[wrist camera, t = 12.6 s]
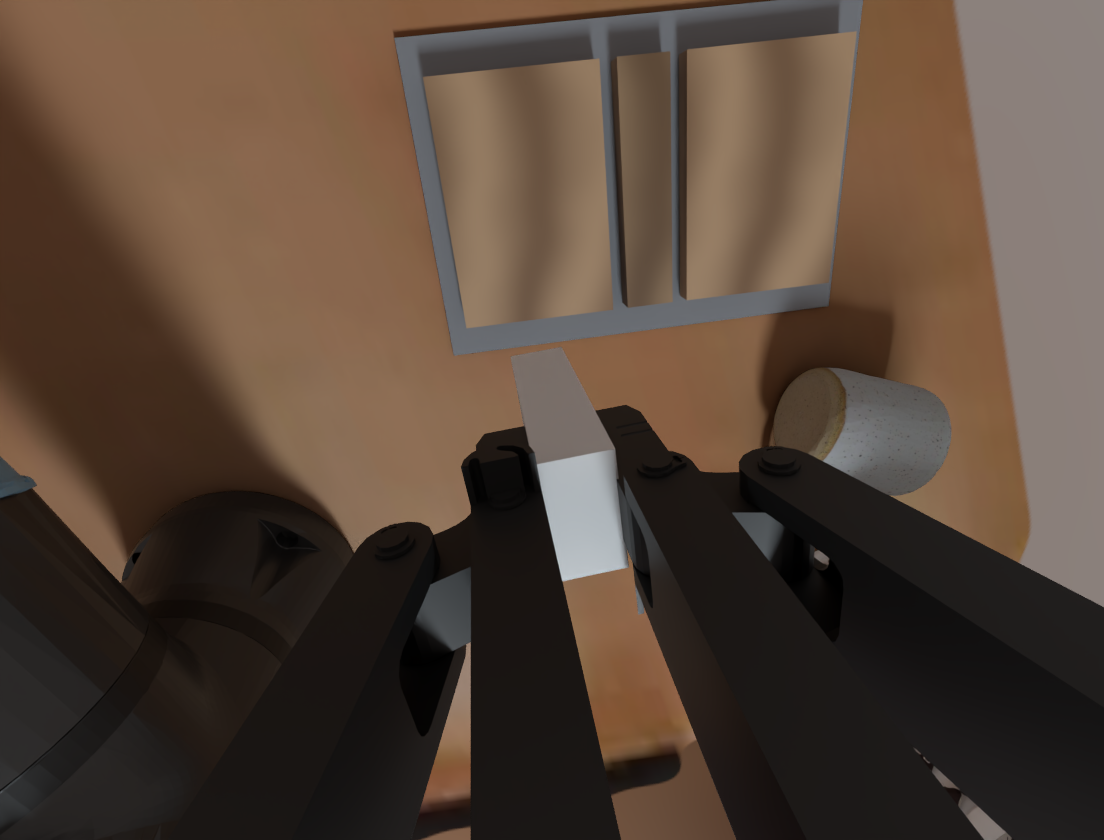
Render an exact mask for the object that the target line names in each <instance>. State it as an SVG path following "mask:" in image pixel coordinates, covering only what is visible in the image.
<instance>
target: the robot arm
mask: <svg viewBox="0 0 1104 840" xmlns="http://www.w3.org/2000/svg"><path fill="white" fill-rule="evenodd" d="M511 361H512V367H513V372H514V377H515V382H516V388H517V393H518V398H519V403H520V409H521V414H522V419H523V424H524V426H523V427H517V428H512V429H507V430H502V431H497V432H492V433H487V434H484V435H483V437H482V438H481V439H480V441H479V442H478V443H477V445H476V451H475V452H473V453H471V454H470V455H469V456H468V457H467V458H466V459H464V461H463V463H462V466H461V469H462V473H463V477H464V481H465V485H466V489H467V493H468V497H469V501H470V505H471V514H470V515H469V516H468V517H467V518H466V519H465V520H463V521H462V522H460V523H459V524H457V525H455V526H453V527H451V528H449V529H447V530H445V531H442V532H440V533H438V534H435V535H433V533H432V531H431V530H430V528H429V527H428V526H426V525H424V524H422V523H418V522H404V523H398V524H393V525H389V526H388V527H384V528H382V529H380V530H378V531H377V532H375V533H374V534H372V535H371V536H369V537H368V538H366V539H365V541H364V542H363V543H362V544H361V545H360V546H359V547H358V548H357V550H356V551H355V553H354V555H353V553H352V551H351V549H350V547H349V546H348V544H347V543H346V541H345V540H344V539H343V537H342V536H341V535H340V534H339V533H338V532H337V531H336V530H335V529H334V528H333V527H332V526H331V525H330V524H329V523H328V522H326V521H325V520H324V519H322V518H321V517H320V516H318V515H317V514H315V513H313V512H312V511H310V510H308V509H306V508H304V507H303V506H300V505H298V504H296V503H294V502H291V501H288V500H286V499H282V498H279V497H276V496H272V495H267V494H262V493H255V492H241V491H233V492H220V493H213V494H208V495H204V496H200V497H197V498H194V499H191V500H188V501H186V502H184V503H182V504H180V505H178V506H176V507H175V508H173V509H171V510H170V511H169V512H167V513H166V514H165V515H164V516H162V517H161V518H160V519H159V520H158V521H157V522H156V523H155V524H154V526H153V527H152V528H151V529H150V530H149V531H148V532H147V533H146V534H145V535H144V536H143V537H142V538H141V539H140V541H139V542H138V543H137V545H136V546H135V548H134V549H133V551H132V552H131V554H130V556H129V558H128V561H127V563H126V566H125V569H124V572H123V576H122V582H121V583H120V582H119V581H118V580H117V579H116V578H115V577H114V576H113V575H112V574H111V573H110V572H109V571H108V570H107V569H106V567H105V566H104V565H103V564H102V563H101V562H100V561H99V560H98V559H97V558H96V557H95V556H94V555H93V553H92V552H91V551H90V550H89V549H88V548H87V547H86V546H85V545H84V544H83V543H82V542H81V540H80V539H79V538H78V537H77V536H76V535H75V534H74V533H73V532H72V531H71V530H70V529H69V528H68V526H67V525H66V524H65V523H64V522H63V521H62V520H61V519H60V518H59V517H58V516H57V515H56V513H55V512H54V511H53V510H52V509H51V508H50V507H49V506H48V505H47V504H46V503H45V502H44V501H43V499H42V498H41V497H40V496H39V495H38V494H37V493H36V492H35V491H34V490H33V489H32V488H33V487H36V486H37V485H36V483H35V482H34V480H33V479H32V478H30V477H28V476H22V475H20V474H18V473H17V472H16V471H15V470H14V469H13V468H12V467H11V466H10V465H9V464H8V463H7V462H6V461H5V460H4V459H3V458H2V457H0V840H411V838H412V834H413V831H414V828H415V824H416V821H417V818H418V814H419V811H420V807H421V804H422V801H423V797H424V794H425V791H426V787H427V784H428V780H429V777H430V774H431V770H432V767H433V764H434V760H435V757H436V754H437V750H438V747H439V743H440V740H441V737H442V733H443V730H444V727H445V723H446V720H447V716H448V713H449V710H450V706H451V703H452V700H453V696H454V693H455V689H456V686H457V683H458V679H459V676H460V673H461V669H462V666H463V663H464V659H465V655H466V644H468V643H470V642H471V840H621V837H620V834H619V829H618V824H617V820H616V815H615V811H614V807H613V802H612V798H611V793H610V789H609V785H608V780H607V776H606V771H605V767H604V763H603V758H602V754H601V749H600V745H599V741H598V736H597V732H596V727H595V723H594V719H593V714H592V710H591V705H590V701H589V697H588V692H587V688H586V683H585V679H584V675H583V670H582V666H581V661H580V657H579V653H578V648H577V644H576V639H575V635H574V631H573V626H572V622H571V617H570V613H569V609H568V604H567V600H566V595H565V591H564V587H563V582H562V581H566V580H571V579H575V578H580V577H585V576H589V575H594V574H599V573H604V572H608V571H613V570H618V569H622V568H627V567H629V564H628V556H627V550H628V552H629V555H630V557H631V560H632V562H633V569H634V578H635V587H636V596H637V605H638V614H642V613H644V608H645V610H646V613H647V615H648V618H649V620H650V623H651V625H652V628H653V631H654V633H655V636H656V638H657V641H658V643H659V646H660V648H661V651H662V653H663V656H664V658H665V661H666V663H667V666H668V668H669V671H670V673H671V676H672V678H673V681H674V683H675V686H676V688H677V691H678V694H679V696H680V699H681V701H682V704H683V706H684V709H685V711H686V714H687V716H688V719H689V721H690V724H691V726H692V729H693V731H694V734H695V736H696V739H697V741H698V744H699V746H700V749H701V751H702V754H703V756H704V759H705V762H706V764H707V766H708V769H709V771H710V774H711V777H712V779H713V782H714V784H715V787H716V789H717V792H718V794H719V797H720V799H721V802H722V804H723V807H724V809H725V812H726V814H727V817H728V819H729V822H730V825H731V827H732V830H733V832H734V835H735V837H736V840H984V839H983V837H982V836H981V835H980V833H979V832H978V831H977V830H976V828H975V827H974V826H973V824H972V823H971V822H970V821H969V819H968V818H967V817H966V815H965V814H964V813H963V811H962V810H961V809H960V808H959V806H958V805H957V804H956V802H955V801H954V800H953V799H952V797H951V796H950V795H949V793H948V792H947V791H946V789H945V788H944V787H943V786H942V784H941V783H940V782H939V780H938V779H937V778H936V776H935V775H934V774H933V773H932V771H931V770H930V769H929V767H928V766H927V765H926V764H925V762H924V761H923V760H922V758H921V757H920V756H919V754H918V753H917V752H916V751H915V749H916V750H917V751H919V752H920V753H921V754H922V755H923V756H924V757H925V758H926V759H927V760H928V761H929V762H930V763H932V764H933V765H934V766H935V767H936V768H937V769H938V770H939V771H940V772H941V773H942V774H943V775H944V776H946V777H947V778H948V779H949V780H950V781H951V782H952V783H953V784H954V785H955V786H956V787H957V788H959V789H960V790H961V791H962V792H963V793H964V794H965V795H966V796H967V797H968V798H969V799H970V800H971V801H973V802H974V803H975V804H976V805H977V806H978V807H979V808H980V809H981V810H982V811H983V812H984V813H985V814H987V815H988V816H989V817H990V818H991V819H992V820H993V821H994V822H995V823H996V824H997V825H998V826H1000V827H1001V828H1002V829H1003V830H1004V831H1005V832H1006V833H1007V834H1008V835H1009V836H1010V837H1011V838H1012V839H1014V840H1104V607H1102V606H1100V605H1098V604H1096V603H1094V602H1093V601H1091V600H1089V599H1087V598H1085V597H1083V596H1081V595H1079V594H1077V593H1075V592H1073V591H1071V590H1069V589H1067V588H1066V587H1063V586H1062V585H1060V584H1058V583H1056V582H1054V581H1052V580H1050V579H1048V578H1046V577H1045V576H1043V575H1041V574H1039V573H1037V572H1035V571H1033V570H1031V569H1029V568H1027V567H1025V566H1023V565H1021V564H1020V563H1018V562H1016V561H1014V560H1012V559H1010V558H1008V557H1006V556H1004V555H1002V554H1000V553H998V552H996V551H995V550H993V549H991V548H989V547H987V546H985V545H983V544H981V543H979V542H977V541H975V540H973V539H971V538H970V537H968V536H966V535H964V534H962V533H960V532H958V531H956V530H954V529H952V528H950V527H948V526H946V525H945V524H943V523H941V522H939V521H937V520H935V519H933V518H931V517H929V516H927V515H925V514H923V513H921V512H920V511H918V510H916V509H914V508H912V507H910V506H908V505H906V504H904V503H902V502H900V501H898V500H896V499H894V498H893V497H891V496H889V495H887V494H885V493H883V492H881V491H879V490H877V489H875V488H873V487H871V486H869V485H868V484H866V483H864V482H862V481H860V480H858V479H856V478H854V477H852V476H850V475H848V474H846V473H844V472H843V471H841V470H839V469H837V468H835V467H833V466H831V465H829V464H827V463H825V462H823V461H821V460H819V459H818V458H816V457H814V456H812V455H810V454H808V453H805V452H802V451H800V450H797V449H792V448H786V447H782V446H774V447H772V446H769V447H764V448H760V449H755V450H752V451H750V452H748V453H747V454H745V455H743V457H742V458H741V460H740V461H739V472H730V473H712V472H702V471H699V469H698V468H697V467H696V466H695V464H694V463H693V462H692V461H691V460H690V459H689V458H687V457H686V456H685V455H682V454H679V453H676V452H673V451H668V450H667V448H666V447H665V446H664V444H663V443H662V441H661V440H660V439H659V437H658V436H657V434H656V433H655V432H654V431H653V430H652V427H651V426H650V425H649V423H647V421H646V419H645V418H644V416H643V415H642V414H641V412H640V411H638V410H636V409H634V408H631V407H629V406H627V405H623V406H618V407H613V408H607V409H602V410H597V411H595V410H594V408H593V406H592V404H591V402H590V400H589V398H588V396H587V394H586V393H585V391H584V389H583V387H582V385H581V383H580V381H579V379H578V377H577V376H576V374H575V372H574V370H573V368H572V366H571V364H570V362H569V360H568V359H567V357H566V355H565V353H564V351H563V349H562V347H559V348H554V349H548V350H543V351H538V352H532V353H527V354H521V355H516V356H511ZM815 548H816V549H817V550H819V551H820V552H822V553H823V554H825V555H826V556H827V557H828V558H829V565H828V566H827V565H825V564H823V563H822V562H820V561H819V560H817V559H816V558H815V557H814V551H815ZM912 746H913V747H914V748H915V749H914V748H913V747H912Z"/></svg>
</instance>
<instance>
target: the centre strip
mask: <svg viewBox="0 0 1104 840" xmlns="http://www.w3.org/2000/svg"><path fill="white" fill-rule="evenodd" d="M611 77H612V98H613V118H614V139H615V160H616V180H617V201H618V222H619V243H620V263H621V284H622V303H623V304H624V305H625V306H626V307H628V308H631V307H639V306H646V305H654V304H662V303H670V302H673V290H672V180H671V71H670V51H667V52H657V53H648V54H638V55H628V56H618V57H616V58H615V59H614V60H613V61H611Z"/></svg>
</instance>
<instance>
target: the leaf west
mask: <svg viewBox="0 0 1104 840" xmlns="http://www.w3.org/2000/svg"><path fill="white" fill-rule="evenodd" d="M423 80H424V86H425V92H426V98H427V103H428V109H429V115H430V121H431V126H432V132H433V138H434V144H435V149H436V155H437V161H438V167H439V173H440V178H441V184H442V190H443V196H444V201H445V207H446V213H447V219H448V225H449V230H450V236H451V242H452V248H453V253H454V259H455V265H456V271H457V276H458V282H459V288H460V294H461V300H462V305H463V311H464V317H465V323H466V328H473V327H481V326H489V325H497V324H505V323H513V322H520V321H528V320H536V319H544V318H552V317H560V316H568V315H576V314H584V313H592V312H600V311H607V310H613V294H612V276H611V258H610V240H609V222H608V204H607V186H606V168H605V151H604V133H603V115H602V97H601V79H600V61H599V59H590V60H580V61H570V62H561V63H551V64H542V65H532V66H523V67H513V68H504V69H494V70H484V71H475V72H465V73H456V74H446V75H437V76H427V77H423Z"/></svg>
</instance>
